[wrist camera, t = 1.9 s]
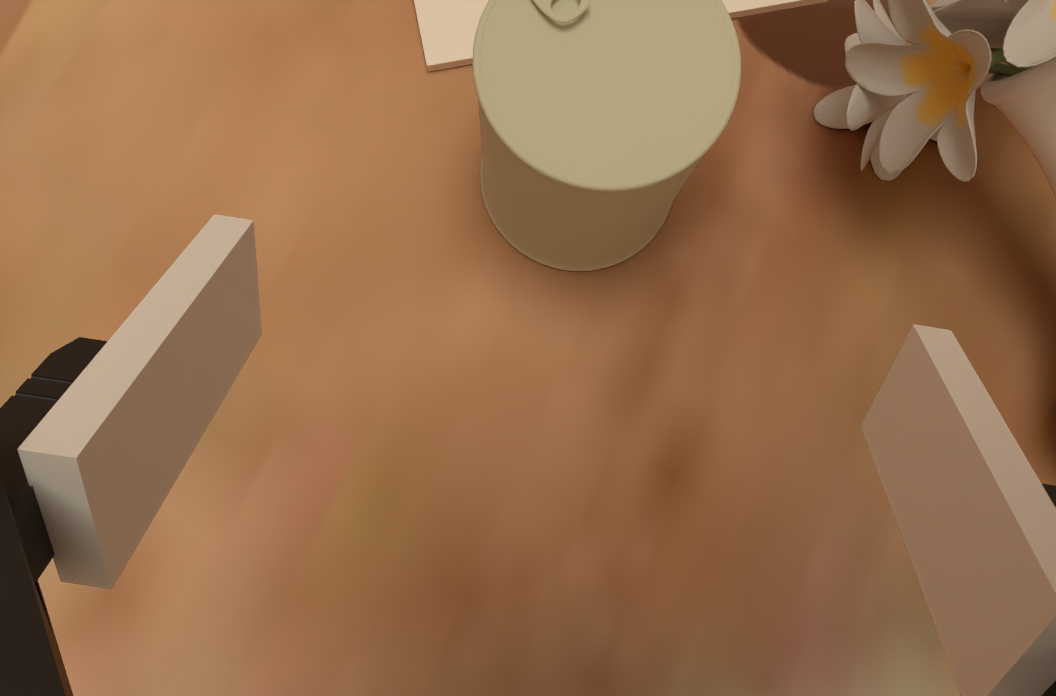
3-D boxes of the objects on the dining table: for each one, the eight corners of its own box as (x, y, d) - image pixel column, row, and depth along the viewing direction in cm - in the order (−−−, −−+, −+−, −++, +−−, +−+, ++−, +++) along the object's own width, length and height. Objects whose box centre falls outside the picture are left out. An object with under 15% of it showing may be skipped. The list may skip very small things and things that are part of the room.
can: (584, 48, 40) (618, -127, 28) (713, 186, 39) (805, 66, 27) (440, 168, 39) (412, 38, 27) (570, 312, 38) (600, 243, 26)
